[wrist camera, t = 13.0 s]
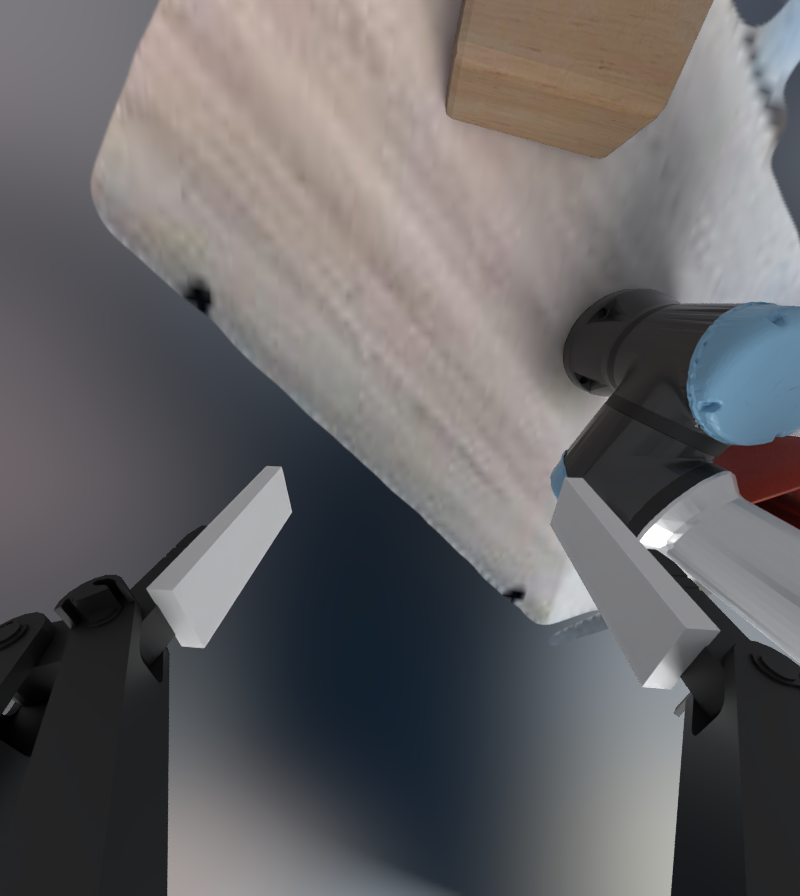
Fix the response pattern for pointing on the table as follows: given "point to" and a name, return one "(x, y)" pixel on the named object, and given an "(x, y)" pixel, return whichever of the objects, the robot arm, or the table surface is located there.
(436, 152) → the table surface
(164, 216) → the table surface
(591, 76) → the block
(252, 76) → the table surface
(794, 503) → the plant pot
